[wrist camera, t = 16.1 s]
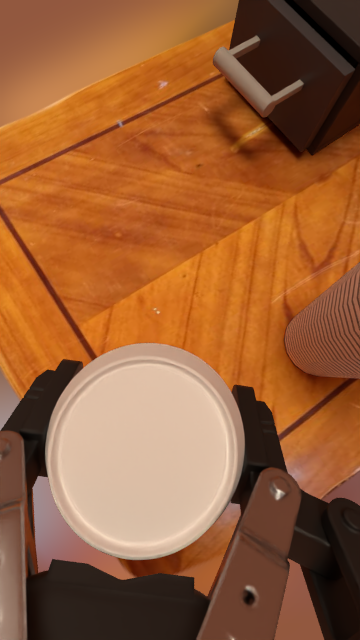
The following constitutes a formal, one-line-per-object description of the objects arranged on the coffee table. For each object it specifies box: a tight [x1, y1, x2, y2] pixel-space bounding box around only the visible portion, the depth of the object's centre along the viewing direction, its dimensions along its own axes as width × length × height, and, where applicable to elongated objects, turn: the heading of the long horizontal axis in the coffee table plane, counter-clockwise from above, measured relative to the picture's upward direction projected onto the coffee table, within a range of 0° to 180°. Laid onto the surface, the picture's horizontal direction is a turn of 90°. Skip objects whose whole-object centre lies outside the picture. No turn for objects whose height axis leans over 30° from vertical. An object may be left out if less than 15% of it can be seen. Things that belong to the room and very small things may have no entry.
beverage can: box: [45, 343, 245, 560], centre depth 14 cm, size 6×6×12 cm
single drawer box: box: [293, 0, 360, 155], centre depth 31 cm, size 15×14×10 cm
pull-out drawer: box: [213, 0, 359, 152], centre depth 30 cm, size 18×13×8 cm
